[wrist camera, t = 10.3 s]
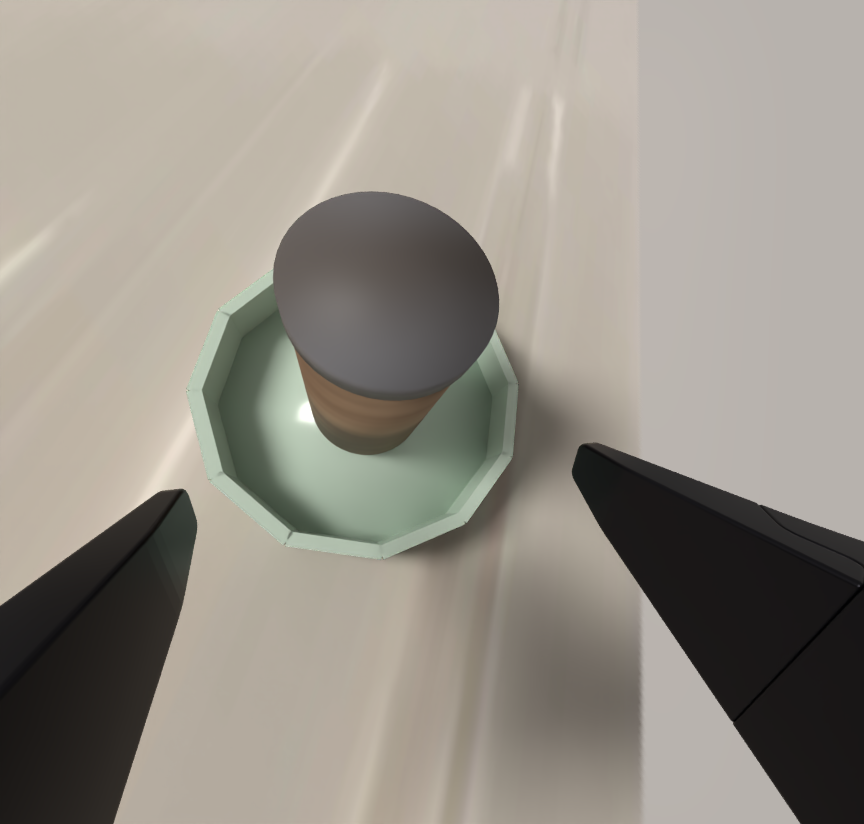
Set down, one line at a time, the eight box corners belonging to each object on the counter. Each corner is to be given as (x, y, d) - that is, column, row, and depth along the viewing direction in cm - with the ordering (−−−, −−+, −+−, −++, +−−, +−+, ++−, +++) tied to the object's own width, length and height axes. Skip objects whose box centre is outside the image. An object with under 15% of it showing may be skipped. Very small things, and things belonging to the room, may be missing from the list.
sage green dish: (539, 398, 20) (565, 382, 17) (380, 617, 15) (387, 635, 13) (357, 242, 20) (359, 205, 17) (142, 411, 15) (105, 391, 13)
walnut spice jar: (441, 426, 17) (536, 338, 9) (339, 477, 16) (338, 429, 7) (391, 334, 18) (435, 173, 10) (288, 374, 16) (233, 219, 8)
